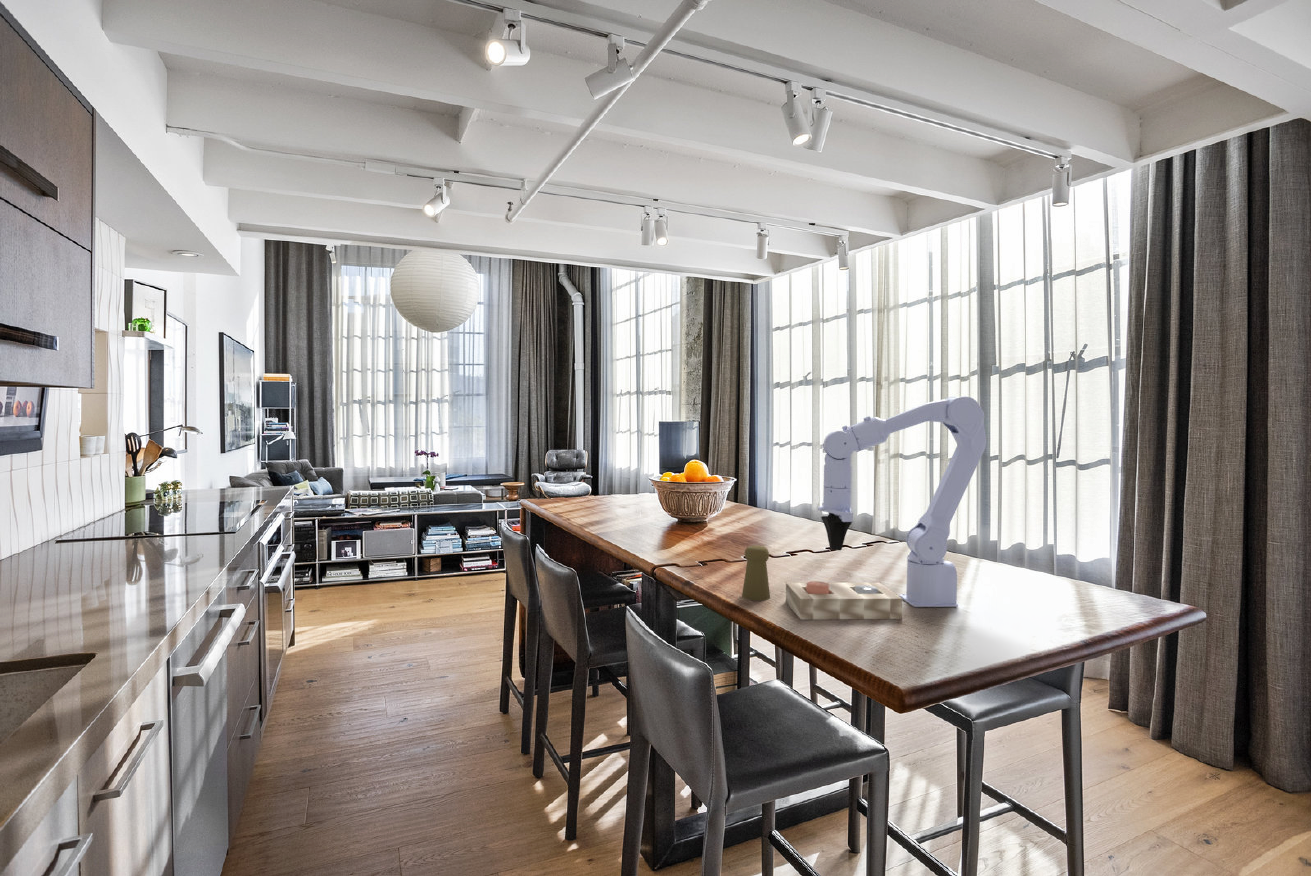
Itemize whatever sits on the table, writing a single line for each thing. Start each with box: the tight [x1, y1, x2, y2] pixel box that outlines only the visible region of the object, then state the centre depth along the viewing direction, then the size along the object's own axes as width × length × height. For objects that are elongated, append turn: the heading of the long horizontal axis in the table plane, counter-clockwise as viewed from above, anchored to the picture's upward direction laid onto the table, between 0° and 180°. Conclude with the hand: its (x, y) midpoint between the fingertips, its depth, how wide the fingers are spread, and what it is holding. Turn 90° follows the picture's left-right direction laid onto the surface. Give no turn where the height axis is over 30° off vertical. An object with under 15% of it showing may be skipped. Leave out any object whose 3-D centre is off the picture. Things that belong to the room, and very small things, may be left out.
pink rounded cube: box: [806, 580, 829, 594], centre depth 136 cm, size 4×4×4 cm
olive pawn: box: [741, 544, 771, 601], centre depth 145 cm, size 6×6×11 cm
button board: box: [785, 582, 903, 620], centre depth 136 cm, size 20×12×4 cm, turn 93°
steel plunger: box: [855, 585, 878, 594], centre depth 137 cm, size 4×4×4 cm
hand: (835, 549), depth 145 cm, fingers closed
